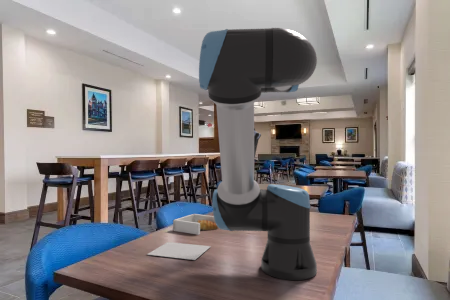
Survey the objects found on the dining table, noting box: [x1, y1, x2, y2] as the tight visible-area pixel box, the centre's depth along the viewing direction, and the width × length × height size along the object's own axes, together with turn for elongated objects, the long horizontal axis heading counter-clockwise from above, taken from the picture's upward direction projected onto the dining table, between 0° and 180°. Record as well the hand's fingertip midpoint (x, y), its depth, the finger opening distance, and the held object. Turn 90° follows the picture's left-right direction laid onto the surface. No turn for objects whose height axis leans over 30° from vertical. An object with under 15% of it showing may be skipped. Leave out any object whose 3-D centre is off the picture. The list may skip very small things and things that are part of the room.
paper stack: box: [146, 241, 212, 261], centre depth 101 cm, size 23×25×1 cm
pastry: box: [197, 220, 219, 231], centre depth 128 cm, size 9×7×4 cm
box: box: [172, 213, 215, 236], centre depth 127 cm, size 15×13×4 cm
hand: (243, 178), depth 107 cm, fingers closed
